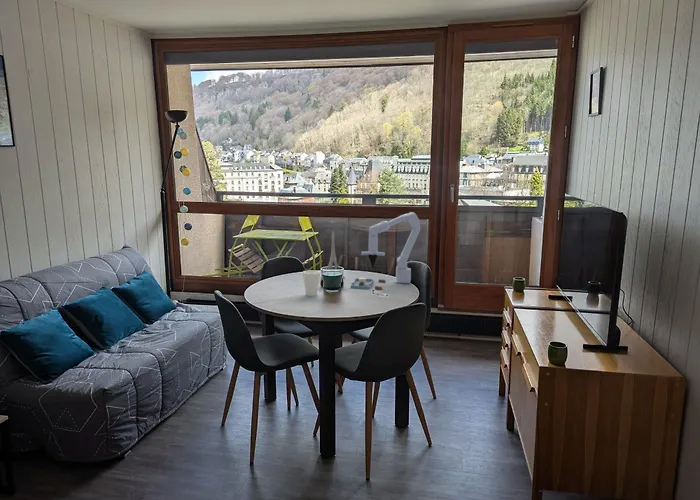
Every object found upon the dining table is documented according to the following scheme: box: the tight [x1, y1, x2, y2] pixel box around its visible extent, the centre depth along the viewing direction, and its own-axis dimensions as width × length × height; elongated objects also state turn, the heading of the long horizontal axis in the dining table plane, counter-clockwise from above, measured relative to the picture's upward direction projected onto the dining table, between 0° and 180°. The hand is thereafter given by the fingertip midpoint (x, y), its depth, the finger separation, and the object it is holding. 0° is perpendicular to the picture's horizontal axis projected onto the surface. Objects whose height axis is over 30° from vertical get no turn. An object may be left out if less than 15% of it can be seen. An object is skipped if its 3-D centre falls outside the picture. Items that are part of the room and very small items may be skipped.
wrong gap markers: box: [374, 278, 386, 291], centre depth 304 cm, size 4×20×2 cm, turn 170°
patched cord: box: [358, 277, 367, 286], centre depth 306 cm, size 4×12×4 cm, turn 170°
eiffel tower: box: [327, 231, 345, 280], centre depth 324 cm, size 13×13×30 cm
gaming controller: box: [319, 277, 345, 288], centre depth 299 cm, size 14×6×10 cm, turn 84°
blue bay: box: [350, 277, 375, 290], centre depth 306 cm, size 11×19×2 cm, turn 170°
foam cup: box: [302, 269, 321, 297], centre depth 282 cm, size 10×9×13 cm
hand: (372, 266), depth 313 cm, fingers closed
